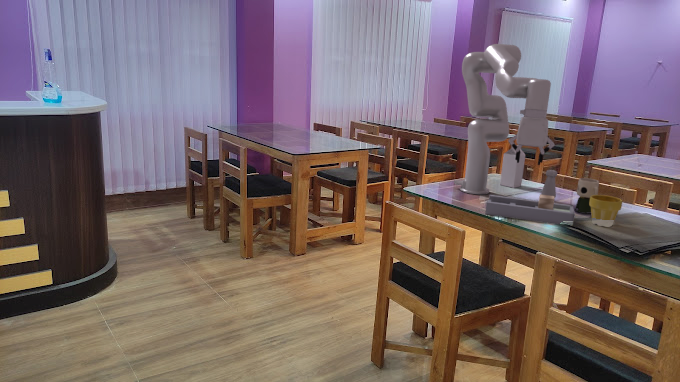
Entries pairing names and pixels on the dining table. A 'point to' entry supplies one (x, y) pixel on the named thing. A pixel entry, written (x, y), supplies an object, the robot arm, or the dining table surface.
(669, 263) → the dining table surface
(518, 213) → the grey tray
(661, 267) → the dining table surface
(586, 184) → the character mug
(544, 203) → the maple block
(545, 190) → the salt shaker
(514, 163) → the milk carton
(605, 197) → the plant pot
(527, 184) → the dining table surface
